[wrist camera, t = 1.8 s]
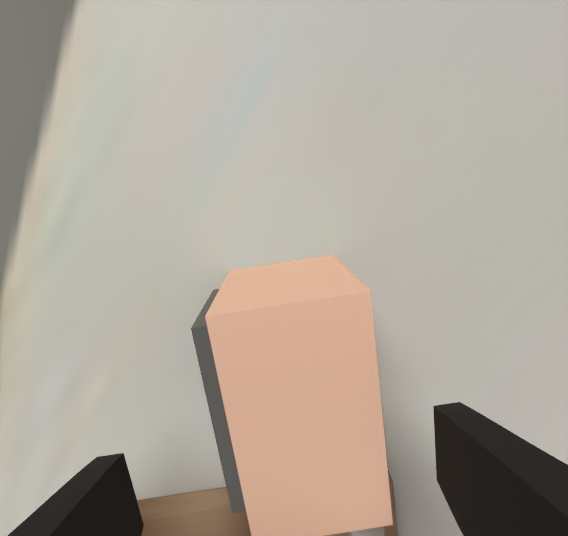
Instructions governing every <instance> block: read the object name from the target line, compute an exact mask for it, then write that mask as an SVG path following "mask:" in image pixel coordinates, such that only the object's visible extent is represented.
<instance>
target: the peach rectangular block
mask: <svg viewBox="0 0 568 536" xmlns="http://www.w3.org/2000/svg"><path fill="white" fill-rule="evenodd" d="M191 330H192V334H193V339H194V343H195V348H196V352H197V357H198V361H199V366H200V370H201V375H202V379H203V384H204V388H205V393H206V397H207V402H208V406H209V411H210V415H211V420H212V424H213V429H214V433H215V438H216V442H217V447H218V451H219V455H220V460H221V464H222V469H223V473H224V478H225V482H226V487H227V491H228V496H229V500H230V505H231V509H232V513H237V512H243V511H246V512H247V517H248V522H249V527H250V531H251V536H326V535H332V534H338V533H344V532H351V531H357V530H363V529H370V528H376V527H382V526H389V525H393V520H392V510H391V499H390V489H389V478H388V468H387V457H386V447H385V436H384V426H383V415H382V405H381V394H380V384H379V373H378V363H377V352H376V342H375V332H374V321H373V311H372V300H371V291H370V290H369V289H368V288H367V287H366V286H365V285H364V284H363V283H362V282H361V281H360V280H359V279H358V278H357V277H356V276H355V275H354V274H353V273H352V272H351V271H350V270H349V269H348V268H347V267H346V266H345V265H344V264H343V263H342V262H341V261H340V260H339V259H338V258H337V257H336V256H334V255H327V256H321V257H314V258H308V259H301V260H295V261H288V262H282V263H275V264H269V265H262V266H256V267H249V268H243V269H236V270H230V271H229V272H228V274H227V276H226V278H225V280H224V281H223V283H222V285H221V287H220V289H216V290H213V292H212V293H211V295H210V297H209V299H208V300H207V302H206V304H205V305H204V307H203V309H202V311H201V312H200V314H199V316H198V317H197V319H196V321H195V323H194V324H193V326H192V328H191Z"/></svg>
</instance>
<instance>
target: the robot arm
mask: <svg viewBox="0 0 568 536" xmlns="http://www.w3.org/2000/svg"><path fill="white" fill-rule="evenodd" d="M434 426H435V448H436V470H437V481H438V483H439V485H440V488H441V490H442V492H443V494H444V496H445V498H446V501H447V503H448V505H449V507H450V509H451V511H452V513H453V515H454V517H455V520H456V522H457V524H458V526H459V528H460V530H461V532H462V533H463V535H464V536H568V465H567V464H565V463H563V462H562V461H560V460H558V459H556V458H555V457H553V456H551V455H549V454H548V453H546V452H544V451H542V450H541V449H539V448H537V447H536V446H534V445H532V444H530V443H529V442H527V441H525V440H524V439H522V438H520V437H519V436H517V435H515V434H513V433H512V432H510V431H508V430H507V429H505V428H503V427H502V426H500V425H498V424H497V423H495V422H493V421H492V420H490V419H488V418H487V417H485V416H483V415H481V414H480V413H478V412H476V411H475V410H473V409H471V408H469V407H468V406H466V405H464V404H462V403H460V402H457V403H451V404H444V405H438V406H434ZM143 527H144V524H143V520H142V517H141V513H140V510H139V506H138V503H137V499H136V496H135V492H134V489H133V485H132V482H131V478H130V475H129V471H128V468H127V464H126V461H125V457H124V454H123V453H121V454H114V455H108V456H101V457H96V458H95V459H94V460H93V461H92V462H90V463H89V464H88V465H87V466H85V467H84V468H83V469H82V470H81V471H80V472H78V473H77V474H76V475H75V476H74V477H73V478H72V479H70V480H69V481H68V482H67V483H66V484H65V485H64V486H63V487H61V488H60V489H59V490H58V491H57V492H56V493H55V494H54V495H52V496H51V497H50V498H49V499H48V500H47V501H46V502H45V503H44V504H43V505H41V506H40V507H39V508H38V509H37V510H36V511H35V512H34V513H32V514H31V515H30V516H29V517H28V518H27V519H26V520H25V521H24V522H22V523H21V524H20V525H19V526H18V527H17V528H16V529H15V530H13V531H12V532H11V533H10V534H9V535H8V536H141V535H142V531H143Z"/></svg>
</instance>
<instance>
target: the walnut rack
mask: <svg viewBox="0 0 568 536" xmlns="http://www.w3.org/2000/svg"><path fill="white" fill-rule="evenodd" d="M388 478H389V489H390V499H391V510H392V520H393V525H389V526H382V527H376V528H370V529H363V530H357V531H351V532H344V533H338V534H332V535H326V536H397V526H396V514H395V501H394V489H393V481H392V479H391V477H390V474H389V472H388ZM137 503H138V506H139V510H140V513H141V517H142V520H143V524H144V527H143V531H142V535H141V536H251V531H250V527H249V522H248V517H247V512H246V511H243V512H237V513H232V509H231V505H230V500H229V496H228V491H227V487H225V488H218V489H212V490H205V491H198V492H192V493H185V494H178V495H172V496H165V497H158V498H152V499H145V500H138V501H137Z"/></svg>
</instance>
